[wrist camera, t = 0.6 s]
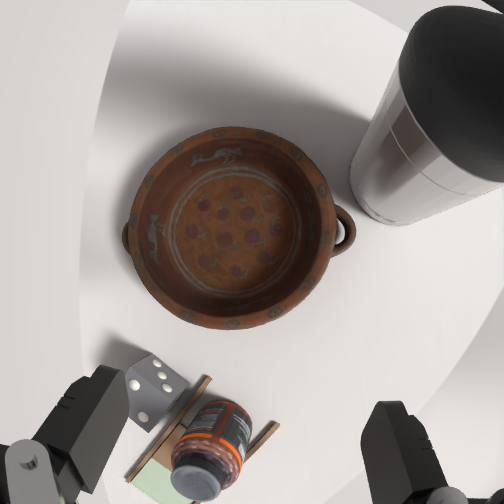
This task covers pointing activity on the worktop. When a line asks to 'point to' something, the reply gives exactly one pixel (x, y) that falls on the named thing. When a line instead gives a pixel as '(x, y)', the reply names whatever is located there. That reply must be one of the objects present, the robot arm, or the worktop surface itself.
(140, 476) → the board
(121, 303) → the worktop surface
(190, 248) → the dish
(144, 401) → the die
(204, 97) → the worktop surface
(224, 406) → the supplement bottle
